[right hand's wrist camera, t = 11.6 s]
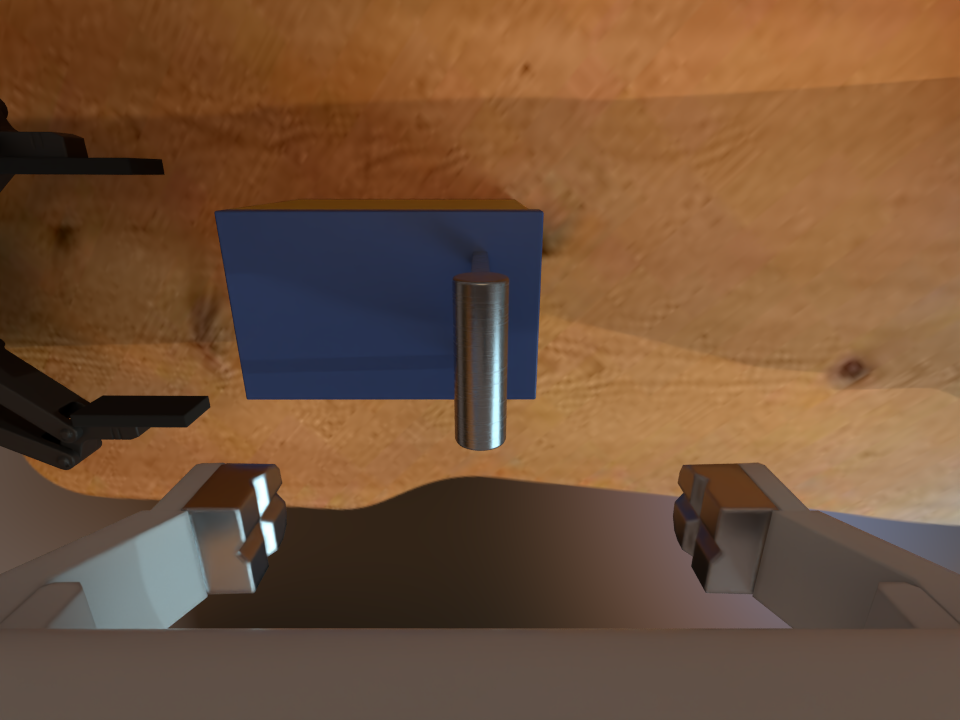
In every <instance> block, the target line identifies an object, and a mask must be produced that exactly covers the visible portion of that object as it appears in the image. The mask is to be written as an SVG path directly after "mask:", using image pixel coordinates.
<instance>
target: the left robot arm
mask: <svg viewBox="0 0 960 720" xmlns="http://www.w3.org/2000/svg"><path fill="white" fill-rule="evenodd" d="M7 116H8V109H7V107H6V105H5V103H4V102H3V101H2V100H1V99H0V192H1V191H2V189H3V188H4V187H5V186H6V184H7V183H8V182H9V181H10V180H11V178H12V177H13V176H14V175H15V174H88V175H165V174H164V169H163V164H162V159H140V158H88V154H87V150H86V146H85V142H84V138H81V137H79V136H76V135H74V134H66V133H56V132H18V131H17V130H15V129H14V128H13V127H12V126H11V125H10V124H9V122H8V121H7V119H6V118H7ZM4 346H5V342H4V341H3V340H2V339H0V446H2V447H5V448H7V449H10V450H13V451H15V452H18V453H20V454H23V455H26V456H28V457H31V458H34V459H36V460H39V461H41V462H44V463H47V464H49V465H52V466H55V467H57V468H60V469H63V470H69V469H71V468H73V467H74V466H75V465H77V464H78V463H80V462H81V461H82V460H84V459H85V458H87V457H88V456H89V455H91V454H92V453H93V452H95V451H96V450H98V449H99V448H100V447H101V446H102V441H101V439H122V440H131V439H134V438H136V437H139V436H140V435H141V434H143V433H144V432H145V431H147V430H148V429H149V428H150V427H188V426H189V425H190V424H191V423H192V422H194V421H195V420H196V419H197V418H198V417H199V416H201V415H202V414H203V413H204V412H205V411H206V410H208V409H209V408H210V403H209V398H208V396H101V397H100V398H98V399H96V400H95V401H93V402H91V403H90V402H88V401H86V400H85V399H83V398H82V397H80V396H79V395H77V394H75V393H74V392H72V391H71V390H69V389H67V388H66V387H64V386H63V385H61V384H60V383H58V382H56V381H55V380H53V379H52V378H50V377H49V376H47V375H45V374H44V373H42V372H41V371H39V370H37V369H36V368H34V367H33V366H31V365H30V364H28V363H26V362H25V361H23V360H22V359H20V358H19V357H17V356H15V355H14V354H12V353H11V352H9V351H8V350H6V349H5V348H4ZM69 418H71V419H69Z"/></svg>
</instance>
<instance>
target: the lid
mask: <svg viewBox="0 0 960 720" xmlns="http://www.w3.org/2000/svg"><path fill="white" fill-rule="evenodd" d="M543 214H544V213H543V211H541V210H539V209H226V210H219V211H215V218H216V224H217V230H218V236H219V241H220V247H221V253H222V259H223V264H224V270H225V276H226V282H227V287H228V293H229V299H230V305H231V311H232V316H233V322H234V328H235V334H236V339H237V345H238V351H239V357H240V362H241V368H242V374H243V380H244V386H245V391H246V397H247V399H454V404H455V439H456V441H457V443H458V444H459V445H460V446H462V447H464V448H467V449H470V450H477V451H485V450H491V449H495V448H497V447H499V446H501V445H502V444H503V443H504V441H505V439H506V412H507V399H535V398H536V381H537V357H538V333H539V309H540V285H541V261H542V238H543Z"/></svg>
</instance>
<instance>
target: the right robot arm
mask: <svg viewBox="0 0 960 720" xmlns="http://www.w3.org/2000/svg"><path fill="white" fill-rule="evenodd" d="M281 484H282V479H281V474H280V469H279V468H278V467H277V466H276V465H275V464H242V463H226V464H225V463H201V464H196V465H195V466H194V467H193V468H192V469H191V470H190V471H189V472H188V473H187V474H186V475H185V476H184V477H183V478H182V479H181V480H180V481H179V482H178V483H177V484H176V485H175V486H174V487H173V488H172V489H171V490H170V491H169V492H168V493H167V494H166V495H165V496H164V497H163V498H162V499H161V500H160V501H159V502H158V503H157V504H156V505H155V506H154V507H153V508H152V509H151V510H150V511H140V512H138V513H136V514H133V515H131V516H129V517H127V518H124V519H122V520H120V521H118V522H116V523H113V524H111V525H109V526H107V527H104V528H102V529H100V530H98V531H96V532H93V533H91V534H89V535H87V536H84V537H82V538H80V539H78V540H75V541H73V542H71V543H69V544H67V545H64V546H62V547H60V548H58V549H56V550H53V551H51V552H49V553H47V554H44V555H42V556H40V557H38V558H35V559H33V560H31V561H29V562H27V563H24V564H22V565H20V566H18V567H15V568H13V569H11V570H9V571H6V572H4V573H2V574H0V720H960V574H958V573H955V572H953V571H951V570H949V569H946V568H944V567H942V566H940V565H938V564H935V563H933V562H931V561H929V560H926V559H924V558H922V557H920V556H918V555H915V554H913V553H911V552H909V551H907V550H904V549H902V548H900V547H898V546H895V545H893V544H891V543H889V542H887V541H884V540H882V539H880V538H878V537H875V536H873V535H871V534H869V533H867V532H864V531H862V530H860V529H858V528H855V527H853V526H851V525H849V524H847V523H844V522H842V521H840V520H838V519H836V518H833V517H831V516H829V515H827V514H824V513H822V512H820V511H810V510H809V509H808V508H807V507H806V506H805V505H804V504H803V503H802V502H801V501H800V500H799V499H798V498H797V497H796V496H795V495H794V494H793V493H792V492H791V491H790V490H789V489H788V488H787V487H786V486H785V485H784V484H783V483H782V482H781V481H780V480H779V479H778V478H777V477H776V476H775V475H774V474H773V473H772V472H771V471H770V470H769V469H768V468H767V467H766V466H765V465H763V464H760V463H736V464H699V465H683V466H682V468H681V470H680V473H679V479H678V484H679V486H680V488H681V489H682V491H683V492H684V493H683V494H682V495H681V496H680V497H679V498H678V499H677V500H676V501H675V504H674V513H673V521H674V531H675V534H676V537H677V540H678V542H679V544H680V546H681V548H682V550H684V551H685V552H687V553H688V554H690V555H691V556H693V559H692V565H691V567H692V568H693V570H694V572H695V574H696V576H697V578H698V579H699V581H700V583H701V585H702V587H703V589H704V590H705V592H706V593H728V594H753V597H754V598H755V599H756V600H758V601H759V602H760V603H762V604H763V605H764V606H765V607H767V608H768V609H769V610H770V611H772V612H773V613H774V614H775V615H777V616H778V617H779V618H780V619H782V620H783V621H784V622H786V623H787V624H788V625H789V626H791V627H792V628H793V629H167V628H168V627H170V626H171V625H172V624H173V623H175V622H176V621H177V620H178V619H180V618H181V617H182V616H184V615H185V614H186V613H187V612H189V611H190V610H191V609H192V608H194V607H195V606H196V605H197V604H199V603H200V602H201V601H202V600H204V599H205V598H206V597H207V594H231V593H254V592H255V590H256V589H257V587H258V585H259V583H260V581H261V579H262V578H263V576H264V574H265V572H266V570H267V568H268V567H269V565H268V559H267V556H269V555H270V554H272V553H273V552H275V551H276V550H278V548H279V546H280V544H281V542H282V540H283V537H284V533H285V529H286V525H287V511H286V504H285V501H284V500H283V499H282V498H281V497H280V496H279V495H278V494H277V493H276V492H277V491H278V489H279V488H280V486H281Z"/></svg>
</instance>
